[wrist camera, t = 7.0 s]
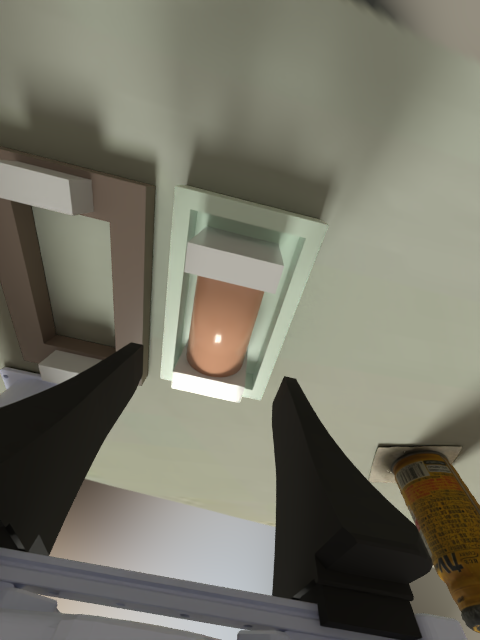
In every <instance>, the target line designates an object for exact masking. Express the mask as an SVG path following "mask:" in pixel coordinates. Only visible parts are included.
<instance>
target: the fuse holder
mask: <svg viewBox="0 0 480 640" xmlns="http://www.w3.org/2000/svg"><path fill="white" fill-rule="evenodd" d="M31 205H32V206H36V207H40V208H44V209H48V210H52V211H56V212H60V213H64V214H68V215H72V216H73V215H83V216H87V217H91V218H95V219H99V220H103V221H107V222H110V237H111V259H112V280H113V301H114V323H115V344H116V348H114V347H110V346H105V345H101V344H97V343H92V342H88V341H83V340H79V339H74V338H70V337H65V336H61V335H56V331H55V325H54V320H53V315H52V310H51V305H50V300H49V295H48V290H47V285H46V280H45V274H44V269H43V264H42V259H41V254H40V249H39V244H38V239H37V234H36V229H35V223H34V218H33V213H32V208H31ZM154 210H155V186H154V185H150V184H146V183H142V182H138V181H134V180H130V179H126V178H122V177H119V176H115V175H111V174H107V173H103V172H99V171H95V170H91V169H87V168H83V167H79V166H75V165H72V164H68V163H64V162H60V161H56V160H52V159H48V158H44V157H40V156H36V155H32V154H28V153H25V152H21V151H17V150H13V149H9V148H5V147H1V146H0V282H1V285H2V288H3V292H4V295H5V298H6V302H7V305H8V308H9V312H10V315H11V319H12V322H13V325H14V329H15V332H16V335H17V339H18V342H19V345H20V349H21V352H22V355H23V359H24V360H25V361H29V362H34V363H38V366H39V370H40V374H41V378H42V380H43V381H48V382H52V383H57V384H60V383H62V382H64V381H66V380H68V379H70V378H72V377H74V376H76V375H77V374H79V373H81V372H83V371H85V370H87V369H88V368H90V367H92V366H94V365H95V364H97V363H99V362H100V361H102V360H104V359H105V358H107V357H108V356H110V355H112V354H113V353H115V352H116V351H118V350H120V349H121V348H123V347H124V346H126V345H128V344H129V343H131V342H133V343H137V344H142V345H144V349H143V376H142V378H141V380H140V382H139V384H138V385H139V386H142V384H143V382H144V381H145V379H146V377H147V376H148V357H149V333H150V308H151V283H152V259H153V234H154Z"/></svg>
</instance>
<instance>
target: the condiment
mask: <svg viewBox="0 0 480 640" xmlns="http://www.w3.org/2000/svg"><path fill="white" fill-rule="evenodd" d="M461 449H462V447H450V446H440V447H438V446H428V447H427V446H422V447H390V448H378V449H377V452H376V454H375V458H374V461H373V465H372V467H371V473H370V477H369V482H384V483H387V482H393V483H396V482H397V484H398V487H399V489H400V491H401V494H402V496H403V498H404V500H405V503H406V505H407V507H408V509H409V511H410V513H411V516H412V518H413V520H414V522H415V525H416V527H417V529H418V531H419V533H420V535H421V537H422V539H423V541H424V544H425V546H426V548H427V550H428V552H429V555H430V557H431V559H432V562H433V565H434V567H435V569H436V571H437V574H438V575H439V577H440V578H441V579H442V580H443V581H444V582H445V583H446V584H447V586H448V589H449V591H450V593H451V595H452V597H453V599H454V601H455V602H456V604H457V605H458V607H459V609H460V611H461V612H462V614H461V616H462V619H463V620H464V621H465V623H466V625H467V626H468V627H469V628H470V629H472V630H473V631H475V632H478V633H480V505H479V504H478V503H477V501H476V499H475V497H474V496H473V495H472V494H471V492H470V491H469V489H468V487H467V486H466V485H465V483H464V482H463V481H462V479H461V478H460V476H459V474H458V473H457V471H456V470H455V468H454V467H453V466H452V463H453V462H454V460H455V458H456V457H457V456H458V454H459V452H460V451H461ZM387 470H388V471H389V472H388V471H387ZM390 472H392V473H390Z"/></svg>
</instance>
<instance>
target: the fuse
mask: <svg viewBox="0 0 480 640" xmlns="http://www.w3.org/2000/svg"><path fill="white" fill-rule="evenodd" d="M283 269H284V263H283V259H282V255H281V252H280V248H279V244H277V243H273V242H269V241H265V240H261V239H257V238H253V237H249V236H245V235H241V234H237V233H233V232H229V231H225V230H221V229H217V228H213V227H209V226H207V227H205V228H204V229H203V230H202V231H201V232H199V233H198V234H197V235H196V236H194V237H193V238H192V239H191V240H190V241H188V243H187V252H186V261H185V270H184V272H185V273H190V274H194V275H197V282H196V289H195V296H194V303H193V310H192V317H191V324H190V332H189V339H188V341H187V343H186V345H185V347H184V349H183V351H182V354H181V356H180V358H179V360H178V362H177V364H176V366H175V369H174V371H173V378H172V387H171V388H174V389H179V390H183V391H188V392H192V393H197V394H201V395H206V396H211V397H215V398H220V399H224V400H229V401H233V402H238V403H240V400H241V397H242V394H243V391H244V388H245V378H246V366H247V353H248V345H249V342H250V338H251V335H252V332H253V328H254V325H255V322H256V318H257V315H258V312H259V308H260V305H261V302H262V298H263V295H264V292H268V293H273V294H275V293H276V290H277V287H278V284H279V281H280V278H281V275H282V272H283Z"/></svg>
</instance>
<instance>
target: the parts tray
mask: <svg viewBox="0 0 480 640" xmlns="http://www.w3.org/2000/svg"><path fill="white" fill-rule="evenodd" d="M207 226H209V227H213V228H217V229H221V230H225V231H229V232H233V233H237V234H241V235H245V236H249V237H253V238H257V239H261V240H265V241H269V242H273V243H277V244H279V248H280V252H281V255H282V259H283V263H284V269H283V272H282V275H281V278H280V281H279V284H278V287H277V290H276V293H275V294H273V293H268V292H264V295H263V298H262V302H261V305H260V308H259V312H258V315H257V318H256V322H255V325H254V328H253V332H252V335H251V338H250V342H249V345H248V353H247V366H246V378H245V388H244V391H243V394H242V396H243V397H247V398H252V399H256V400H261V398H262V396H263V393H264V391H265V388H266V385H267V383H268V380H269V378H270V375H271V373H272V370H273V367H274V365H275V362H276V360H277V357H278V355H279V352H280V349H281V347H282V344H283V342H284V339H285V337H286V334H287V331H288V329H289V326H290V324H291V321H292V319H293V316H294V313H295V311H296V308H297V306H298V303H299V301H300V298H301V295H302V293H303V290H304V288H305V285H306V283H307V280H308V277H309V275H310V272H311V270H312V267H313V265H314V262H315V259H316V257H317V254H318V252H319V249H320V247H321V244H322V241H323V239H324V236H325V234H326V231H327V229H328V226H329V225H328V224H326V223H325V222H323V221H322V220H320V219H316V218H312V217H309V216H305V215H301V214H297V213H293V212H289V211H285V210H281V209H277V208H274V207H270V206H266V205H262V204H258V203H254V202H250V201H246V200H242V199H238V198H235V197H231V196H227V195H223V194H219V193H215V192H211V191H207V190H203V189H200V188H196V187H192V186H188V185H179V186H175V191H174V205H173V218H172V231H171V244H170V257H169V270H168V283H167V296H166V309H165V322H164V335H163V348H162V361H161V374H160V378H161V379H165V380H170V381H172V378H173V371H174V369H175V366H176V364H177V362H178V360H179V358H180V356H181V354H182V351H183V349H184V347H185V345H186V343H187V341H188V339H189V332H190V324H191V317H192V310H193V303H194V296H195V289H196V282H197V275H194V274H190V273H185V272H184V270H185V261H186V252H187V243H188V241H190V240H191V239H192V238H193V237H194V236H196V235H197V234H198V233H199V232H201V231H202V230H203V229H204V228H205V227H207Z"/></svg>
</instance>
